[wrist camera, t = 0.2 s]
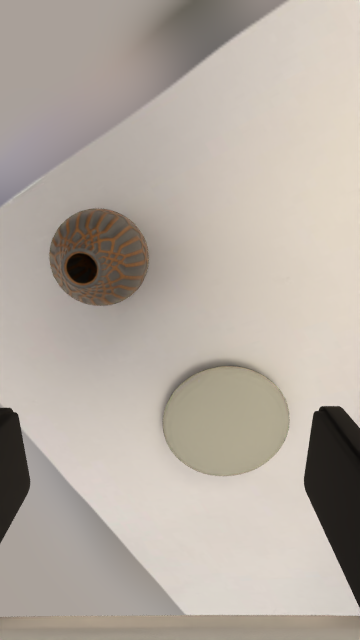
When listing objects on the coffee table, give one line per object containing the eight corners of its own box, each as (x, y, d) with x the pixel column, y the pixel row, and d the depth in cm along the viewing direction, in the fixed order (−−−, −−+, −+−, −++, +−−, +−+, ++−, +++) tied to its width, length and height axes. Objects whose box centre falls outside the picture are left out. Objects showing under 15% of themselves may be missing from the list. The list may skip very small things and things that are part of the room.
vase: (136, 198, 26) (115, 189, 17) (162, 279, 28) (155, 306, 19) (57, 224, 26) (0, 228, 18) (88, 302, 28) (51, 337, 20)
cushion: (152, 452, 33) (150, 474, 30) (178, 348, 30) (178, 361, 27) (263, 472, 34) (271, 496, 31) (301, 373, 31) (313, 389, 28)
